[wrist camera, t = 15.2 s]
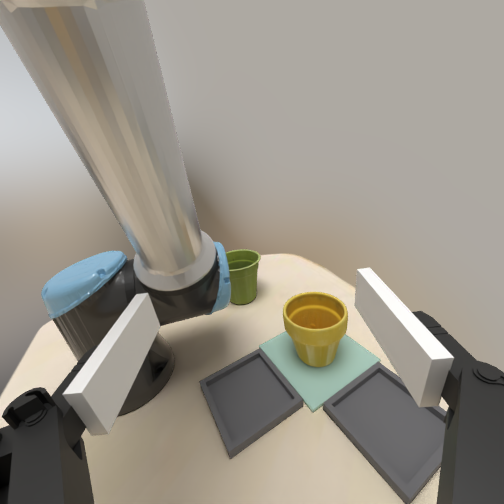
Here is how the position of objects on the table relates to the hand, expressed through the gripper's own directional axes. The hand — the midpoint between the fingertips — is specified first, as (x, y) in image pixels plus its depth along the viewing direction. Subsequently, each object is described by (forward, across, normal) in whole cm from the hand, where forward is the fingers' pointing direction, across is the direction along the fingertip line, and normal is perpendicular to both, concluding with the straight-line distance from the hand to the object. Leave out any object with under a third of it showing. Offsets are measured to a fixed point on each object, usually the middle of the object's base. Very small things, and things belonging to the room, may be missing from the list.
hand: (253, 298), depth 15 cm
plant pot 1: (+40, -6, -28) cm, 49 cm away
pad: (+19, +8, -28) cm, 34 cm away
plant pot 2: (+19, +8, -27) cm, 34 cm away
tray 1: (+12, -4, -27) cm, 30 cm away
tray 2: (+7, +15, -27) cm, 32 cm away
